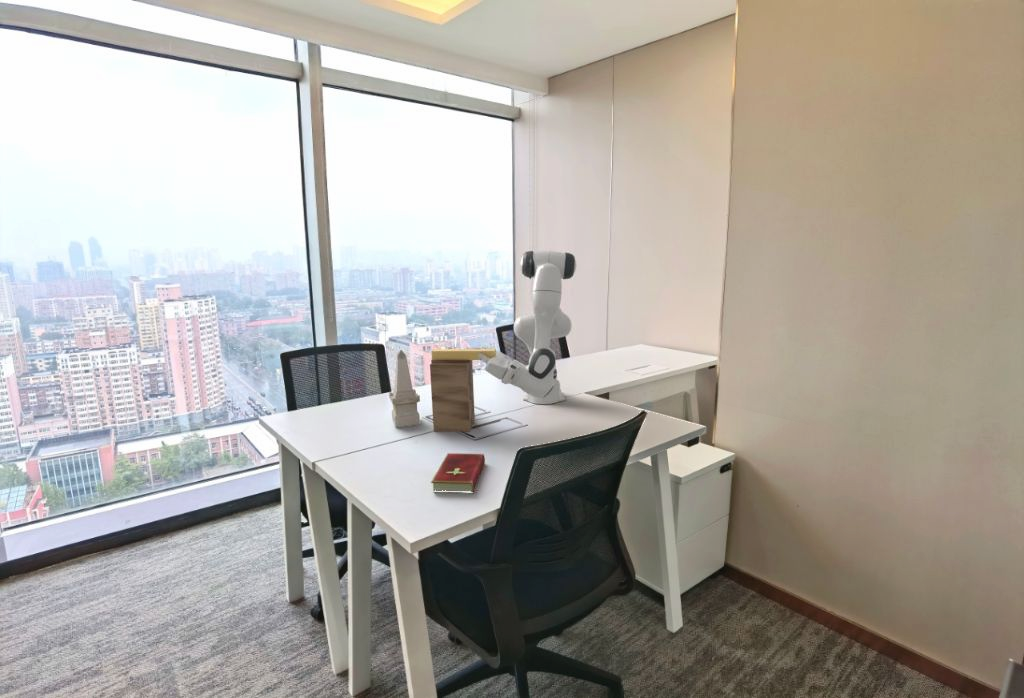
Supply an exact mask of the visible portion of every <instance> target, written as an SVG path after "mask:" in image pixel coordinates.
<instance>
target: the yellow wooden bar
mask: <svg viewBox="0 0 1024 698" xmlns="http://www.w3.org/2000/svg"><path fill="white" fill-rule="evenodd" d="M496 351H497V349H496V348H485V349H484V348H482V349H481V348H478V349H477V348H475V349H474V348H472V349H471V348H470V349H469V348H464V349H463V348H460V349H459V348H458V349H457V348H442V349H441V348H440V349H439V348H438V349H437V348H434V349H433V350H431V360H472V361H482V359H480V358H478V355H479V354H480V353H482V354H484V355H485V356H486V357H489V358H490V359H491V358H492V357H495V356H496Z"/></svg>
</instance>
